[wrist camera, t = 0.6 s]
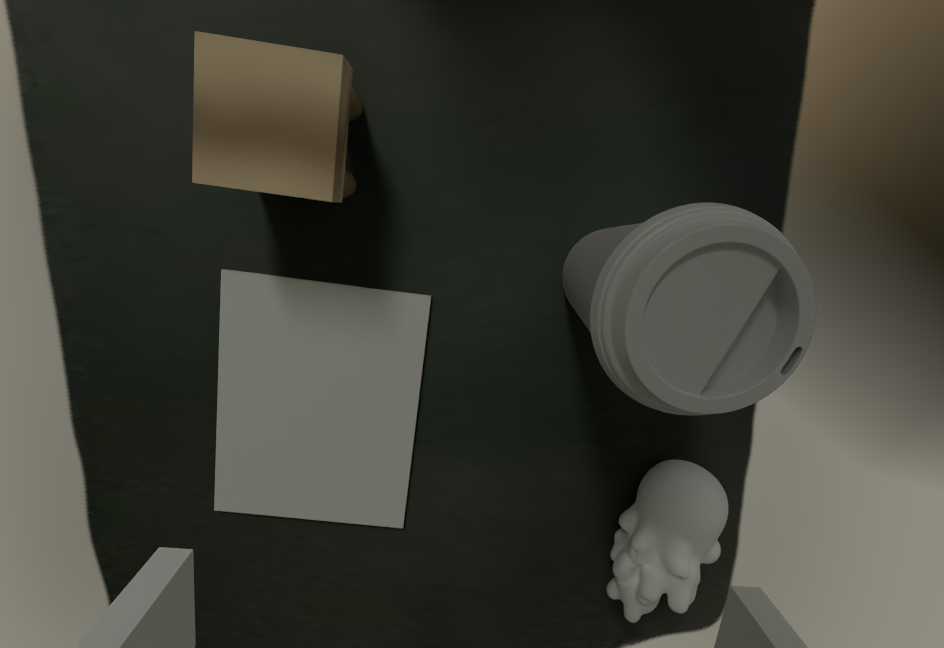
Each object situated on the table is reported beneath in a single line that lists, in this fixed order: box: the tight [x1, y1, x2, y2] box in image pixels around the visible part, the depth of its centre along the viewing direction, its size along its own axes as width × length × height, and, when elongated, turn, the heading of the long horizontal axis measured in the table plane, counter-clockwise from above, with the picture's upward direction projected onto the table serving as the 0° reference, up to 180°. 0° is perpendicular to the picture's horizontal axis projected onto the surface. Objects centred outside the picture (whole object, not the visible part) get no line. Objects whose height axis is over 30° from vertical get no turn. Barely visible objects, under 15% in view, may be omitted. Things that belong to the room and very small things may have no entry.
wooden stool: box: [192, 31, 363, 203], centre depth 29 cm, size 7×7×8 cm
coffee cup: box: [562, 203, 816, 415], centre depth 28 cm, size 10×10×15 cm
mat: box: [214, 269, 431, 528], centre depth 36 cm, size 18×14×1 cm
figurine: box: [607, 460, 728, 623], centre depth 36 cm, size 7×7×12 cm
